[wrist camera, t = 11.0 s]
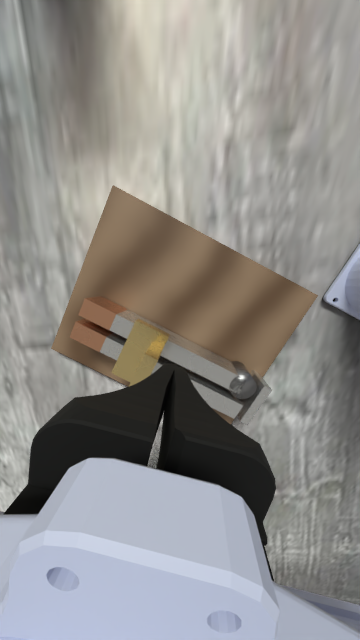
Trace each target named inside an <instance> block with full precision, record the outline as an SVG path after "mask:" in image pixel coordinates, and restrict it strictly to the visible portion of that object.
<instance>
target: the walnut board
mask: <svg viewBox="0 0 360 640" xmlns="http://www.w3.org/2000/svg"><path fill="white" fill-rule="evenodd" d="M99 296H102V297H104V298H106V299H108V300H110V301H112V302H114V303H116V304H118V305H120V306H122V307H124V308H126V309H128V310H130V311H132V312H134V313H136V314H138V315H140V316H142V317H144V318H146V319H148V320H150V321H152V322H154V323H156V324H158V325H159V326H161V327H163V328H165V329H167V330H169V331H171V332H173V333H175V334H177V335H179V336H181V337H183V338H185V339H187V340H189V341H191V342H193V343H195V344H197V345H199V346H201V347H203V348H205V349H207V350H209V351H211V352H213V353H215V354H217V355H219V356H221V357H223V358H225V359H227V360H229V361H231V362H232V361H239V362H241V363H243V364H244V366H245V367H246V368H247V370H248V371H249V373H251V371H252V370H254V371H256V372H258V373H259V374H260V375H261V377H263V376H264V375H265V373H266V372H267V370H268V369H269V367H270V366H271V364H272V363H273V361H274V360H275V358H276V357H277V355H278V354H279V352H280V351H281V349H282V348H283V346H284V345H285V343H286V342H287V341H288V339H289V338H290V336H291V335H292V333H293V332H294V330H295V329H296V327H297V326H298V324H299V323H300V321H301V320H302V318H303V317H304V315H305V314H306V312H307V311H308V310H309V308H310V307H311V305H312V304H313V302H314V301H315V299H316V298H317V296H318V295H316V294H314V293H312V292H310V291H308V290H307V289H305V288H303V287H301V286H299V285H297V284H295V283H294V282H292V281H290V280H288V279H286V278H284V277H282V276H281V275H279V274H277V273H275V272H273V271H271V270H269V269H268V268H266V267H264V266H262V265H260V264H258V263H256V262H255V261H253V260H251V259H249V258H247V257H245V256H243V255H242V254H240V253H238V252H236V251H234V250H232V249H230V248H229V247H227V246H225V245H223V244H221V243H219V242H217V241H216V240H214V239H212V238H210V237H208V236H206V235H204V234H203V233H201V232H199V231H197V230H195V229H193V228H191V227H190V226H188V225H186V224H184V223H182V222H180V221H178V220H177V219H175V218H173V217H171V216H169V215H167V214H165V213H164V212H162V211H160V210H158V209H156V208H154V207H152V206H151V205H149V204H147V203H145V202H143V201H141V200H139V199H138V198H136V197H134V196H132V195H130V194H128V193H126V192H125V191H123V190H121V189H119V188H117V187H115V186H112V189H111V192H110V194H109V197H108V200H107V202H106V205H105V207H104V210H103V213H102V215H101V218H100V221H99V223H98V226H97V229H96V231H95V234H94V237H93V239H92V242H91V245H90V247H89V250H88V253H87V255H86V258H85V261H84V263H83V266H82V269H81V271H80V274H79V277H78V279H77V282H76V284H75V287H74V290H73V292H72V295H71V298H70V300H69V303H68V306H67V308H66V311H65V314H64V316H63V319H62V322H61V324H60V327H59V330H58V332H57V335H56V338H55V340H54V343H53V346H52V348H51V349H53V350H55V351H57V352H59V353H61V354H63V355H65V356H67V357H69V358H71V359H73V360H75V361H77V362H79V363H82V364H84V365H86V366H88V367H90V368H92V369H94V370H96V371H98V372H100V373H102V374H104V375H106V376H108V377H110V378H112V379H114V380H116V381H118V382H120V383H122V384H124V385H126V386H128V387H129V385H130V382H128V381H126V380H124V379H122V378H120V377H118V376H116V375H114V374H113V373H111V372H112V370H113V368H114V366H115V364H116V362H117V360H115V359H113V358H111V357H109V356H107V355H105V354H103V353H101V352H98V351H96V350H94V349H92V348H90V347H88V346H86V345H84V344H82V343H80V342H78V341H76V340H74V339H72V338H70V335H71V332H72V330H73V327H74V325H75V322H76V321H79V320H82V319H85V318H83V317H81V316H79V312H80V309H81V307H82V304H83V302H84V299H85V298H91V297H99ZM212 409H213V408H212ZM213 410H214V411H215V412H216V413H217V414H219V415H220V416H221V417H222V418H223V419H224V420H225V421H227V422H228V423H229V424H231V423H232V422H233V420H234V419H233V418H231V417H229V416H227V415H225V414H223V413H221V412H219V411H217V410H215V409H213Z"/></svg>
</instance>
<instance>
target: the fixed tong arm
mask: <svg viewBox="0 0 360 640" xmlns="http://www.w3.org/2000/svg"><path fill="white" fill-rule="evenodd" d="M70 338H72V339H74V340H76V341H78V342H80V343H82V344H84V345H86V346H88V347H90V348H92V349H94V350H96V351H98V352H101V353H103V354H105V355H107V356H109V357H111V358H113V359H115V360H117V359H118V357H119V355H120V353H121V351H122V349H123V347H124V345H125V342H126V340H127V339H126V338H124V337H122V336H120V335H118V334H116V333H114V332H112V331H110V330H107V329H105V328H103V327H101V326H99V325H97V324H95V323H93V322H91V321H89V320H87V319H82V320H79V321H76V322H75V325H74V327H73V330H72V332H71V335H70ZM165 363H167V364H171V365H175V366H179V367H183V366H181V365H179V364H176V363H174V362H172V361H170V360H168V359H166V358H164V357H162V356H160V357H159V359H158V362H157V363H156V365H155V367H154V369H153V371H152V373H151V374H153V373H154V372H155V371H157V370H158V369H159V368H160V367H161V366H162V365H163V364H165ZM183 368H185V367H183ZM185 369H186V371H187V374H188V376H189V378H190V380H191V381H192V383H193V385H194V387H195V388H196V390H197V391H198V392H199V394H200V395H201V397H202V398H203V399H204V400H205V401H206V402H207V404H208V405H209V406H210V407H211V408H213V409H215V410H217V411H219V412H221V413H223V414H225V415H227V416H229V417H231V418H233V419H235V417H236V416H237V415H238V418H239V421H240V422H241V423H243V424H245V425H248V424H249V422H250V421H251V419H252V418H253V417H254V415H255V414H256V412H257V411H258V410H259V408H260V407H261V405H262V404H263V402H264V401H265V400H266V398H267V397H268V395H269V394H270V392H271V391H272V390H271V388H270V387H269V386H268V384H267V383H266V382H265V380H264V379H263V378H262V377H261V375H260V374H259V373H258V372H256V371H254V370H252V371H251V373H250V375H251V376H252V378H253V379H254V381H255V382H256V391H255V393H254V394H253V395H252V396H251V397H249V398H247V399H238V398H236V397H234V396H233V395H232V394H231V392H230V390H229V389H227V388H225V387H223V386H221V385H219V384H217V383H215V382H213V381H211V380H209V379H207V378H205V377H203V376H201V375H199V374H197V373H195V372H193V371H191V370H189V369H187V368H185Z"/></svg>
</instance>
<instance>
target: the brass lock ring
mask: <svg viewBox="0 0 360 640" xmlns="http://www.w3.org/2000/svg"><path fill="white" fill-rule="evenodd" d="M169 336H170V334H168V333H166V332H164V331H162V330H160V329H158V328H156V327H154V326H152V325H150V324H148V323H147V322H145V321H143V320H141V319H137V320H136V321H135V323H134V325H133V327H132V330H131V332H130V334H129V336H128V338H127V340H126V342H125V345H124V347H123V349H122V351H121V353H120V355H119V357H118V359H117V362H116V364H115V366H114V368H113V370H112V372H111V373H113V374H114V375H116V376H118V377H120V378H122V379H124V380H126V381H128V382H130V385H129V386H132V385H134V384H136V383H138V382H140V381H142V380H144V379H145V378H147V377H148V376H150V375H151V373H152V371H153V369H154V367H155V365H156V363H157V362H158V359H159V357H160V355H161V352H162V350H163V348H164V346H165V344H166V342H167V340H168V338H169Z"/></svg>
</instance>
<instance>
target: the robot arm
mask: <svg viewBox="0 0 360 640" xmlns="http://www.w3.org/2000/svg"><path fill="white" fill-rule="evenodd" d="M334 298H335V301H334V302H333V299H334ZM323 299H324V301H325V302H327V303H328V304H330V305H332V306H334V307H336V308H338V309H340V310H341V311H343V312H345V313H347V314H349V315H351V316H353V317H354V318H356V319H358V320H360V244H359V245H358V247H357V248H356V250H355V251H354V253H353V254H352V256H351V257H350V259H349V260H348V261H347V263H346V264H345V266H344V267H343V269H342V270H341V272H340V273H339V275H338V276H337V278H336V279H335V280H334V282H333V283H332V285H331V286H330V288H329V289H328V291H327V292H326V294H325V295H324V297H323ZM163 412H164V418H163V427H162V436H161V446H160V452H159V458H158V463H157V468H156V469H155V468H151V467H147V464H148V460H149V456H150V452H151V449H152V445H153V442H154V439H155V436H156V433H157V430H158V427H159V424H160V421H161V418H162V415H163ZM275 490H276V486H275V478H274V476H273V473H272V471H271V468H270V466H269V463H268V461H267V458H266V456H265V454H264V452H263V450H262V448H261V446H260V444H259V443H257V442H256V441H254V440H253V439H251V438H250V437H248V436H246V435H245V434H243V433H242V432H240V431H239V430H237V429H236V428H235V427H233V426H232V425H231V424H229V423H228V422H227V421H225V420H224V419H223V418H222V417H221V416H220V415H219V414H217V413H216V412H215V411H214V410H213V409H212V408H211V407H210V406H209V405H208V404H207V402H206V401H205V400H204V399H203V398H202V397H201V395H200V394H199V392H198V391H197V390H196V388H195V387H194V385H193V383H192V381H191V380H190V378H189V376H188V374H187V371H186V369H185V368H183V367H179V366H175V365H171V364H167V363H165V364H163V365H162V366H161V367H160V368H159V369H158V370H157V371H155V372H154V373H153V374H151V375H150V376H148V377H147V378H145V379H144V380H142V381H140V382H138V383H136V384H134V385H132V386H129V387H126V388H124V389H121V390H118V391H114V392H110V393H105V394H101V395H94V396H86V397H77V398H74V399H73V400H71V401H70V402H69V403H68V404H66V405H65V406H64V407H63V408H62V409H61V410H60V411H59V412H57V413H56V414H55V415H54V416H53V417H52V418H51V419H50V420H49V421H48V422H47V423H46V424H45V425H44V426H43V427H42V428H41V429H40V430H39V431H38V432H37V434H36V435H35V437H34V439H33V442H32V446H31V453H30V466H29V479H28V485H27V486H26V487H25V488H24V489H23V491H22V492H21V493H20V494H19V496H18V497H17V498H16V499H15V500H14V502H13V503H12V504H11V505H10V507H9V508H8V509H7V510H6V512H2V511H0V640H360V605H358V604H354V603H350V602H346V601H343V600H339V599H335V598H331V597H327V596H323V595H320V594H316V593H312V592H308V591H304V590H300V589H297V588H293V587H289V586H285V585H281V584H277V583H276V582H274V579H273V576H272V572H271V569H270V565H269V561H268V558H267V554H266V551H265V547H264V546H266V544H267V536H266V532H265V529H264V526H263V520H264V518H265V516H266V514H267V511H268V509H269V507H270V505H271V502H272V500H273V497H274V494H275Z"/></svg>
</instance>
